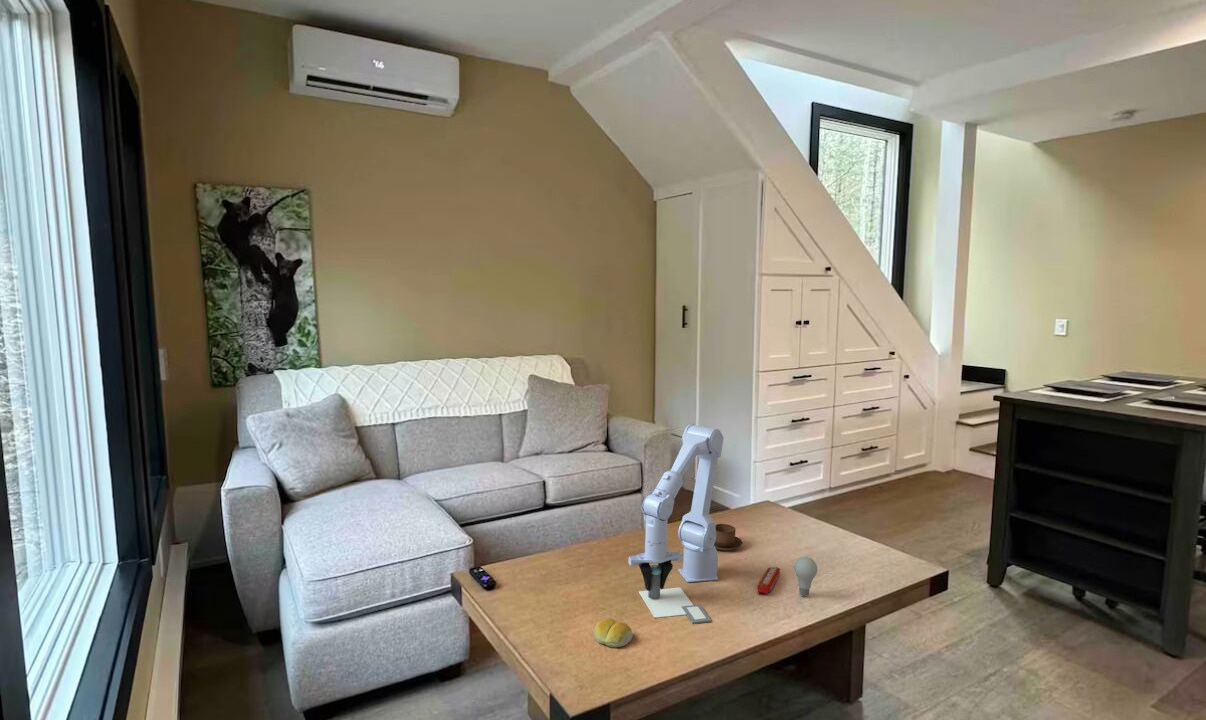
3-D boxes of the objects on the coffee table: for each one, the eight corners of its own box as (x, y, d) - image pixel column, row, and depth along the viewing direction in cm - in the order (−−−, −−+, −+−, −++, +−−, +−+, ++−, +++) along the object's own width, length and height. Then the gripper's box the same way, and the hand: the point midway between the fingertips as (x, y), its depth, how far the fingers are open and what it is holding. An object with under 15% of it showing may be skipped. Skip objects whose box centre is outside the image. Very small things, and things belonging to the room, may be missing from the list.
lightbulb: (815, 593, 176) (818, 555, 175) (815, 603, 170) (818, 564, 169) (792, 589, 178) (795, 551, 177) (791, 599, 172) (794, 560, 171)
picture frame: (699, 606, 167) (699, 604, 167) (711, 622, 159) (711, 619, 159) (681, 608, 166) (681, 605, 166) (692, 624, 158) (692, 621, 158)
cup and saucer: (704, 537, 213) (704, 520, 213) (740, 540, 212) (741, 522, 211) (704, 552, 202) (705, 533, 201) (743, 555, 200) (744, 536, 199)
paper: (680, 588, 177) (680, 587, 177) (699, 613, 163) (699, 612, 163) (638, 591, 174) (638, 591, 174) (654, 618, 160) (654, 617, 160)
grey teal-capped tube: (659, 593, 173) (660, 564, 172) (661, 599, 169) (662, 570, 168) (646, 593, 172) (647, 565, 171) (648, 599, 169) (649, 570, 168)
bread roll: (605, 625, 157) (605, 609, 156) (636, 636, 152) (637, 621, 152) (586, 640, 150) (586, 624, 150) (618, 653, 145) (619, 636, 145)
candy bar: (768, 572, 189) (769, 562, 188) (781, 575, 187) (781, 565, 187) (755, 595, 174) (755, 584, 174) (768, 598, 173) (769, 588, 172)
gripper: (675, 531, 175) (673, 578, 176) (625, 536, 171) (624, 584, 172) (685, 541, 168) (683, 590, 170) (634, 546, 164) (632, 596, 166)
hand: (654, 588), depth 171 cm, fingers closed on grey teal-capped tube, 3 cm apart
